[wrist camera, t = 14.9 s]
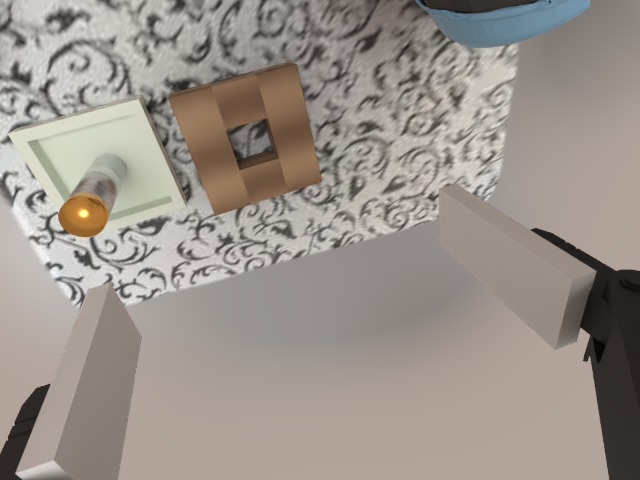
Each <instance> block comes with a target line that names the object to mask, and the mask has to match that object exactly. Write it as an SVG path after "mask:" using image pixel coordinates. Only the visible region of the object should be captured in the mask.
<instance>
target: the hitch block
mask: <svg viewBox="0 0 640 480" xmlns="http://www.w3.org/2000/svg"><path fill="white" fill-rule="evenodd" d="M169 102H170V104H171V107H172V109H173V112H174V114H175V117H176V119H177V121H178V124H179V126H180V129H181V131H182V134H183V136H184V139H185V141H186V144H187V146H188V149H189V151H190V154H191V156H192V159H193V161H194V164H195V166H196V169H197V171H198V174H199V176H200V179H201V181H202V184H203V186H204V189H205V191H206V194H207V196H208V199H209V201H210V204H211V206H212V209H213V211H214V214H215V216H216V215H219V214H222V213H225V212H228V211H231V210H235V209H238V208H241V207H244V206H247V205H250V204H253V203H256V202H260V201H263V200H266V199H269V198H272V197H275V196H278V195H281V194H285V193H288V192H291V191H294V190H297V189H300V188H303V187H306V186H309V185H313V184H316V183H319V182H322V179H321V174H320V170H319V165H318V160H317V156H316V151H315V147H314V142H313V138H312V133H311V128H310V124H309V119H308V115H307V110H306V106H305V101H304V96H303V92H302V87H301V83H300V78H299V74H298V69H297V64H293V63H290V62H286V63H282V64H279V65H275V66H271V67H267V68H264V69H260V70H256V71H252V72H249V73H245V74H241V75H237V76H234V77H230V78H226V79H222V80H218V81H215V82H211V83H207V84H203V85H200V86H196V87H192V88H188V89H185V90H181V91H177V92H173V93H170V95H169ZM262 119H264V120H265V124H266V127H267V131H268V135H269V138H270V142H271V145H272V149H273V150H269V151H266V152H263V153H259V154H256V155H253V156H249V157H246V158H243V159H239V160H236V158H235V155H234V152H233V149H232V146H231V143H230V140H229V138H228V135H227V132H226V130H227V129H230V128H234V127H237V126H241V125H244V124H248V123H251V122H255V121H258V120H262Z"/></svg>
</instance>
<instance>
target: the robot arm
mask: <svg viewBox="0 0 640 480" xmlns="http://www.w3.org/2000/svg"><path fill="white" fill-rule="evenodd" d="M415 1H416V3H417V4H418V5H419V6H420V7H421V8H423V9H424V10H426V11H427V12H428V13H429V15H430V16H431V18H432V19H433V20H434V22H435V23H436V25H437V26H438V28H439V29H440V30H441V32H442V33H443V34H444V35H445V36H446V37H447V38H449V39H450V40H452V41H456V42H458V43H460V44H461V45H465V46H467V47H475V48H490V47H498V46H504V45H509V44H513V43H517V42H520V41H523V40H527V39H529V38H532V37H535V36H538V35H540V34H543V33H545V32H547V31H549V30H552V29H554V28H556V27H558V26H560V25H561V24H563V23H565V22H567V21H569V20H571V19H572V18H574V17H576V16H577V15H579V14H581V13H582V12H584V11H585V10H586V9H588V7H589V5H590V0H415ZM439 245H441V246H442V247H443V248H444V249H445V250H446V251H447V252H448V253H449V254H450V255H451V256H453V257H454V258H455V259H456V260H457V261H458V262H459V263H460V264H461V265H463V266H464V267H465V268H466V269H467V270H468V271H469V272H470V273H471V274H472V275H473V276H475V277H476V278H477V279H478V280H479V281H480V282H481V283H482V284H483V285H484V286H486V287H487V288H488V289H489V290H490V291H491V292H492V293H493V294H494V295H495V296H497V297H498V298H499V299H500V300H501V301H502V302H503V303H504V304H505V305H506V306H508V307H509V308H510V309H511V310H512V311H513V312H514V313H515V314H516V315H517V316H518V317H520V318H521V319H522V320H523V321H524V322H525V323H526V324H527V325H528V326H529V327H531V328H532V329H533V330H534V331H535V332H536V333H537V334H538V335H539V336H541V337H542V338H543V339H544V340H545V341H546V342H547V343H548V344H549V345H550V346H551V347H553V348H554V349H555V350H556V349H559V348H561V347H564V346H567V345H569V344H572V343H574V342H576V341H577V338H578V334H579V331H580V327H581V328H582V329H583V330H585V331H586V332H587V333H589V334H590V338H589V341H588V345H587V348H586V351H585V354H584V359H583V361H586V362H587V361H588V358H589V356H590V358H591V364H592V370H593V377H594V383H595V389H596V396H597V402H598V409H599V416H600V422H601V429H602V435H603V442H604V448H605V454H606V461H607V468H608V474H609V480H640V271H637V270H618V271H615V270H614V269H612V268H610V267H608V266H607V265H605V264H603V263H602V262H600V261H598V260H597V259H595V258H593V257H592V256H590V255H588V254H586V253H585V252H583V251H581V250H580V249H576V247H575V246H573V245H571V244H570V243H566V242H565V240H563V239H561V238H559V237H558V236H556V235H554V234H553V233H550V232H547V231H544V230H540V229H537V228H535V229H532V230H529V229H528V228H526V227H524V226H523V225H521V224H520V223H518V222H516V221H514V220H513V219H512V218H510V217H508V216H507V215H505V214H504V213H502V212H500V211H499V210H497V209H495V208H494V207H492V206H491V205H489V204H487V203H486V202H484V201H483V200H481V199H479V198H478V197H476V196H475V195H473V194H471V193H470V192H468V191H466V190H465V189H463V188H462V187H460V186H458V185H457V184H454V185H450V186H447V187H443V188H440V189H439ZM141 338H142V336H141V335H140V333H139V331H138V329H137V327H136V326H135V324H134V322H133V321H132V319H131V317H130V315H129V314H128V312H127V310H126V309H125V307H124V305H123V303H122V302H121V300H120V298H119V297H118V295H117V293H116V291H115V290H114V288H113V286H112V285H111V283H108V284H105V285H101V286H98V287H94V288H91V289H88V291H87V294H86V296H85V299H84V301H83V304H82V306H81V309H80V312H79V314H78V317H77V319H76V322H75V324H74V327H73V330H72V332H71V334H70V337H69V339H68V342H67V345H66V347H65V349H64V352H63V354H62V357H61V359H60V362H59V364H58V367H57V370H56V372H55V375H54V377H53V380H52V382H51V384H48V385H45V386H42V387H38V388H36V389H35V390H34V392H33V393H32V394H31V395H30V397H29V398H28V399H27V400H26V402H25V403H24V404H23V405H22V407H21V409H20V412H19V414H18V416H17V418H16V420H15V426H13V427H12V429H11V431H10V434H9V436H8V441H6V443H5V445H4V447H3V449H2V451H1V454H0V480H118V475H119V470H120V463H121V458H122V452H123V445H124V439H125V434H126V427H127V422H128V415H129V410H130V404H131V398H132V392H133V386H134V380H135V373H136V368H137V361H138V355H139V350H140V344H141Z"/></svg>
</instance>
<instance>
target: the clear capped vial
mask: <svg viewBox="0 0 640 480" xmlns="http://www.w3.org/2000/svg"><path fill="white" fill-rule="evenodd" d="M126 174H127V166H126V164H125V162H124V161H123V160H122V159H121V158H120V157H119V156H117V155H114V154H110V153H106V154H101V155H99V156H98V157H97V158H96V159H95V160H94V161H93V163H92V164H91V166H90V167H89V169H88V170H87V171H86V173H85V174H84V176H83V177H82V178H81V180H80V181H79V183H78V184H77V186H76V187H75V188H74V190H73V191H72V193H71V194H70V196H69V197H68V198H67V200H66V201H65V203H64V204H63V205H62V207H61V208H60V210H59V213H58V219H59V222H60V224H61V226H62V227H63V228H64V229H65V230H66V231H67V232H69V233H70V234H72V235H75V236H78V237H92V236H95V235H97V234H99V233H100V232H101V231H102V230H103V229H104V227H105V225H106V223H107V221H108V218H109V216H110V213H111V211H112V208H113V206H114V203H115V201H116V199H117V196H118V194H119V191H120V189H121V186H122V184H123V182H124V179H125V177H126Z"/></svg>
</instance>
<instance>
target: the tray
mask: <svg viewBox="0 0 640 480" xmlns="http://www.w3.org/2000/svg"><path fill="white" fill-rule="evenodd" d="M8 135H9V137H10V139H11V140H12V142H13V143H14V145H15V146H16V148H17V149H18V151H19V152H20V154H21V156H22V157H23V159H24V160H25V162H26V163H27V165H28V166H29V168H30V169H31V171H32V172H33V174H34V176H35V177H36V179H37V180H38V182H39V183H40V185H41V186H42V188H43V189H44V191H45V192H46V194H47V196H48V197H49V199H50V200H51V202H52V203H53V205H54V206H55V208H56V209H57V211H58V213H59V210H60V208H61V207H62V205H63V204H64V203H65V201H66V200H67V198H68V197H69V196H70V194H71V193H72V191H73V190H74V188H75V187H76V186H77V184H78V183H79V181H80V180H81V178H82V177H83V176H84V174H85V173H86V171H87V170H88V169H89V167H90V166H91V164H92V163H93V161H94V160H95V159H96V158H97V157H98V156H99V155H101V154H106V153H110V154H114V155H117V156H119V157H120V158H121V159H122V160H123V161H124V162H125V164H126V166H127V174H126V177H125V179H124V182H123V184H122V186H121V189H120V191H119V194H118V196H117V199H116V201H115V203H114V206H113V208H112V211H111V213H110V216H109V218H108V221H107V223H106V225H105V227H104V229H103V230H102V231H101V232H100V233H99V234H103V233H106V232H109V231H112V230H115V229H119V228H122V227H125V226H128V225H131V224H135V223H138V222H141V221H144V220H147V219H150V218H154V217H157V216H160V215H163V214H166V213H170V212H173V211H176V210H179V209H182V208H186V196H185V194H184V192H183V189H182V187H181V185H180V182H179V180H178V178H177V175H176V173H175V171H174V169H173V166H172V164H171V162H170V159H169V157H168V155H167V152H166V150H165V148H164V146H163V143H162V141H161V139H160V136H159V134H158V132H157V130H156V127H155V125H154V123H153V120H152V118H151V116H150V113H149V111H148V109H147V107H146V104H145V102H144V100H143V97H142V95H140V96H136V97H132V98H128V99H124V100H121V101H117V102H113V103H109V104H106V105H102V106H98V107H94V108H90V109H87V110H83V111H79V112H75V113H71V114H68V115H64V116H60V117H56V118H53V119H49V120H45V121H41V122H37V123H34V124H30V125H26V126H22V127H19V128H17V129H15V130H13V131H12V132H10V133H8ZM99 234H97V235H99ZM73 236H74V237H75V239H76V240H77V241H80V240H83V239H87V238H90V237H78V236H75V235H73ZM95 236H96V235H95ZM92 237H93V236H92Z"/></svg>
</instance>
